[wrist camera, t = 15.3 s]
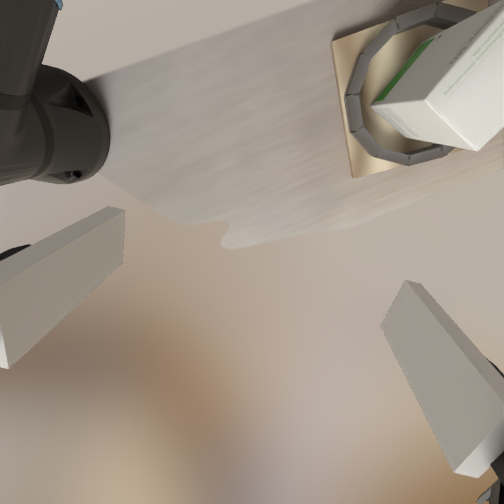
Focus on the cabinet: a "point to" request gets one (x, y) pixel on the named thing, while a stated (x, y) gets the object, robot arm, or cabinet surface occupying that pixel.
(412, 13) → the collar
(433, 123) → the skincare box
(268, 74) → the cabinet surface
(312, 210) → the cabinet surface
